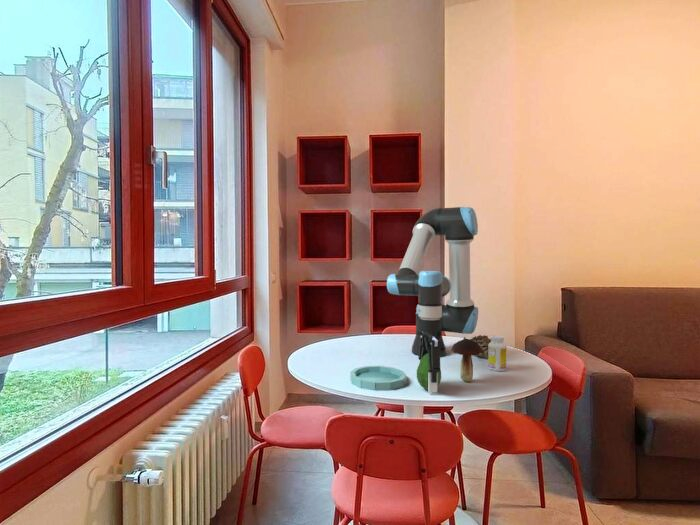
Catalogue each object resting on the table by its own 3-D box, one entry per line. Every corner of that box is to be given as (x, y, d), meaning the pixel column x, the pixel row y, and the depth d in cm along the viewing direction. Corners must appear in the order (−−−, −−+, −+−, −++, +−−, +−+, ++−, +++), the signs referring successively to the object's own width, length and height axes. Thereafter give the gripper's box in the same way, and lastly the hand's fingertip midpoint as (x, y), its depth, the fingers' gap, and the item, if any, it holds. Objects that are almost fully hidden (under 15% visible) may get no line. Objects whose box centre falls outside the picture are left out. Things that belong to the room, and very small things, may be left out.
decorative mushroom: (464, 388, 128) (465, 343, 128) (443, 378, 138) (444, 336, 138) (489, 384, 133) (490, 340, 132) (468, 375, 143) (468, 334, 142)
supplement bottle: (505, 367, 152) (506, 335, 152) (506, 372, 146) (507, 338, 146) (487, 366, 155) (488, 334, 154) (487, 370, 148) (488, 337, 148)
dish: (398, 371, 145) (398, 365, 145) (411, 389, 127) (411, 381, 126) (347, 373, 143) (348, 366, 143) (354, 391, 124) (354, 383, 124)
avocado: (437, 385, 131) (438, 350, 130) (443, 393, 123) (444, 356, 123) (414, 385, 130) (414, 350, 130) (418, 393, 123) (419, 356, 122)
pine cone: (501, 360, 162) (502, 337, 162) (482, 362, 159) (483, 338, 159) (469, 348, 183) (470, 327, 183) (452, 350, 180) (452, 328, 180)
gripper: (410, 313, 136) (409, 377, 136) (428, 323, 115) (427, 399, 116) (430, 313, 137) (429, 377, 137) (452, 323, 116) (451, 398, 117)
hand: (428, 387), depth 127 cm, fingers closed on avocado, 8 cm apart
